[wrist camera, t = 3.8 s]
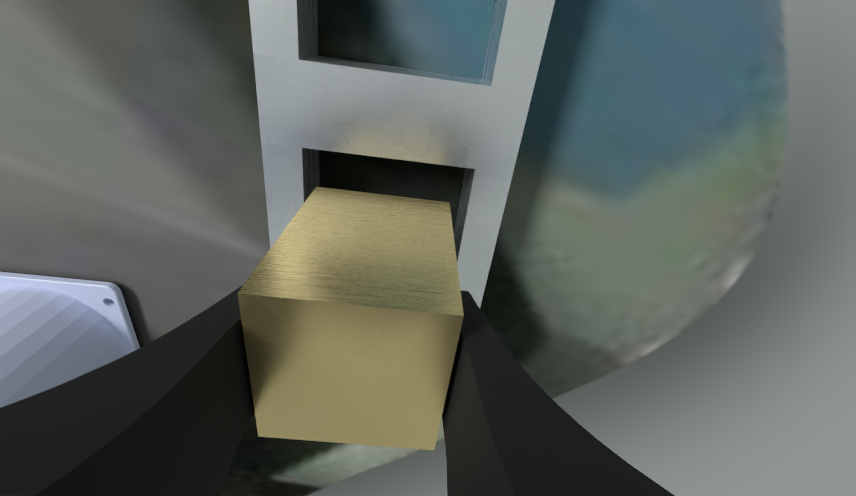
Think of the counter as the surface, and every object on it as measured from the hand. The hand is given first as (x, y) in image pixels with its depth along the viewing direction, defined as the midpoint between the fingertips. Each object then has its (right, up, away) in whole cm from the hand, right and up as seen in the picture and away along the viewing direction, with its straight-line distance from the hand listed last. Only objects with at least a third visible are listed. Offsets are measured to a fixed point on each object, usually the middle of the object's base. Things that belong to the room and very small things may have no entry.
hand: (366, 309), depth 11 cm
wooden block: (0, +2, +3) cm, 3 cm away
